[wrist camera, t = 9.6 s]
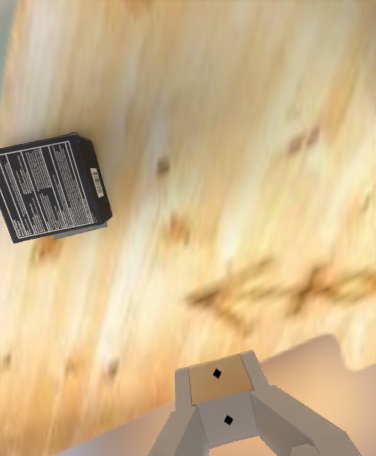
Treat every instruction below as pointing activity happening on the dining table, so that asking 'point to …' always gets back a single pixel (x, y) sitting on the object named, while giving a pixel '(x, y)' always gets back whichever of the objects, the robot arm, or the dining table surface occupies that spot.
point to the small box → (51, 187)
